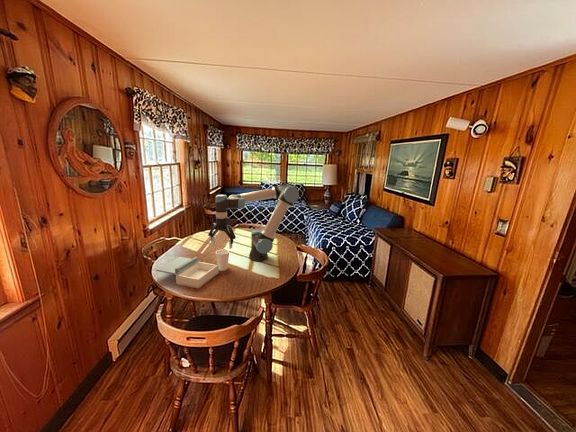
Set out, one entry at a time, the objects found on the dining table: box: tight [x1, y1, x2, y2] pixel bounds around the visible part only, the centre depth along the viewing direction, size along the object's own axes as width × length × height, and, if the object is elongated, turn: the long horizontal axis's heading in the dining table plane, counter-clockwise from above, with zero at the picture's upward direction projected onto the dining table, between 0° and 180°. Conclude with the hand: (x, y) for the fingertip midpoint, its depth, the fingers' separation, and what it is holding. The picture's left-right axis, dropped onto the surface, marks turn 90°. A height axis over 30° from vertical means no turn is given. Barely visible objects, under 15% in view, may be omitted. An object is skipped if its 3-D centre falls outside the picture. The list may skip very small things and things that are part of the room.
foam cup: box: [215, 248, 230, 272], centre depth 170 cm, size 10×9×13 cm
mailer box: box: [175, 261, 220, 289], centre depth 156 cm, size 16×22×6 cm
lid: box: [155, 256, 200, 276], centre depth 159 cm, size 16×22×4 cm
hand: (222, 246), depth 168 cm, fingers open, 13 cm apart
